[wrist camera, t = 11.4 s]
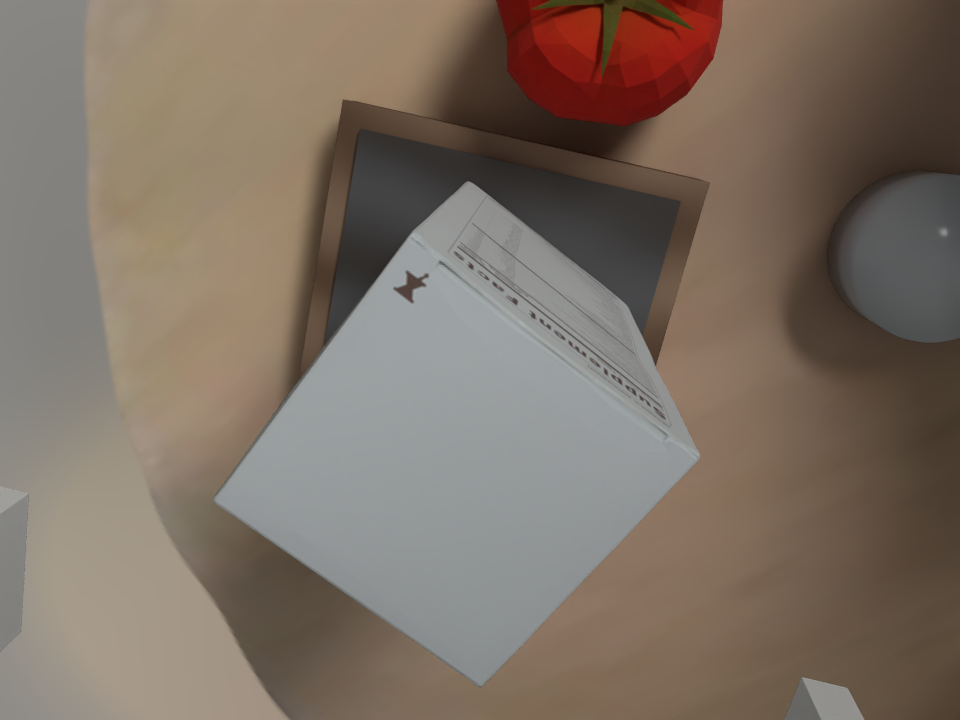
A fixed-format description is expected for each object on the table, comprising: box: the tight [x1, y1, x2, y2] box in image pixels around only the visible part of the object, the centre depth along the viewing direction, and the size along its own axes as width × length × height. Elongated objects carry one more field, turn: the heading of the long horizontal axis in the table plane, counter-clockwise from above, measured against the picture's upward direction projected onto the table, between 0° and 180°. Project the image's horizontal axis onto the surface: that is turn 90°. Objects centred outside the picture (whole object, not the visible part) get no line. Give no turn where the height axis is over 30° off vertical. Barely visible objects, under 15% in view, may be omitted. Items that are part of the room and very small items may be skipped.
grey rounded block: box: [827, 171, 960, 343], centre depth 35 cm, size 7×7×4 cm
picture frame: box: [299, 100, 709, 379], centre depth 38 cm, size 16×16×3 cm
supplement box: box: [213, 181, 700, 687], centre depth 28 cm, size 10×9×17 cm
